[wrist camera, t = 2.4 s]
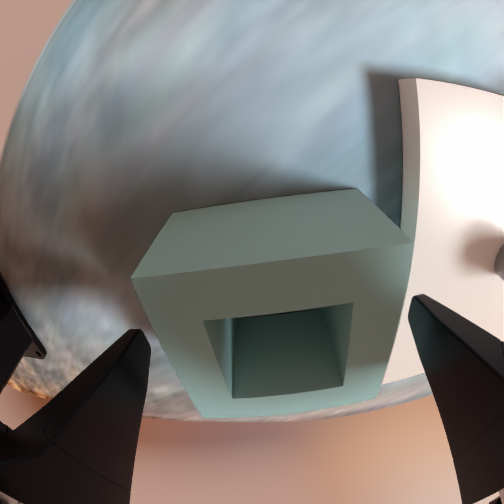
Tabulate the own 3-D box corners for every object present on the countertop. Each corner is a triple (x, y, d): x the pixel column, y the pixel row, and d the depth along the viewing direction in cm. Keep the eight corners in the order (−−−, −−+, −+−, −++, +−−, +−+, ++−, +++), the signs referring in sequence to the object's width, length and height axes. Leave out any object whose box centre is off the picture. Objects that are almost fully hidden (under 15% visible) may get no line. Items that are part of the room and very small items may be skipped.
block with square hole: (213, 343, 13) (202, 417, 9) (172, 213, 10) (130, 278, 6) (351, 326, 12) (375, 398, 9) (357, 188, 9) (413, 242, 6)
